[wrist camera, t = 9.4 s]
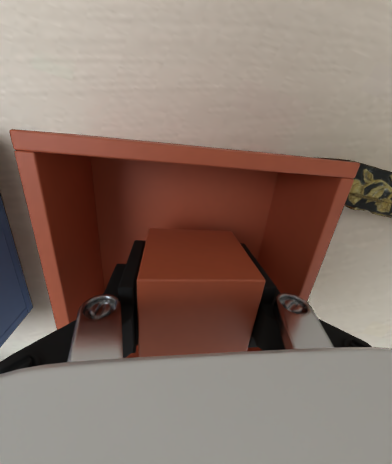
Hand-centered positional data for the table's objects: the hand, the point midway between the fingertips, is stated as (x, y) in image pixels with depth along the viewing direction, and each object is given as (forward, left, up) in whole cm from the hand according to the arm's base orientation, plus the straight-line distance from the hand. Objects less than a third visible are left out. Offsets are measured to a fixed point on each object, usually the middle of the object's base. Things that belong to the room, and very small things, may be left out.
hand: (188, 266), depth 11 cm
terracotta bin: (0, 0, -4) cm, 4 cm away
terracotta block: (0, 0, 0) cm, 0 cm away
